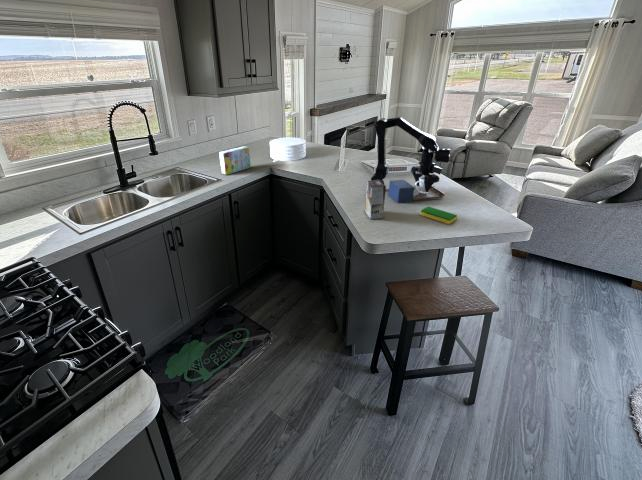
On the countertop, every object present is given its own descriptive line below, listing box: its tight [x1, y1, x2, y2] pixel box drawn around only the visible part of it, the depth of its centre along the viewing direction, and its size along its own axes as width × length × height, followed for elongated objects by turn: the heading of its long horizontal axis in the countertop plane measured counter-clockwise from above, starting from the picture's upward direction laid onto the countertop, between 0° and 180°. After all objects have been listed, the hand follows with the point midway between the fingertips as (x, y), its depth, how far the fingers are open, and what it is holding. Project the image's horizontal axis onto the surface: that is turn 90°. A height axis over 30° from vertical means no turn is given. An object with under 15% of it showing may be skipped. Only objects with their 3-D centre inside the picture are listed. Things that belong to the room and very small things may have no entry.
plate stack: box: [269, 136, 307, 162], centre depth 255 cm, size 28×28×12 cm
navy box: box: [388, 179, 446, 204], centre depth 173 cm, size 25×13×8 cm, turn 97°
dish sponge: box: [419, 205, 458, 225], centre depth 152 cm, size 7×14×2 cm, turn 41°
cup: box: [413, 175, 429, 194], centre depth 173 cm, size 7×10×8 cm
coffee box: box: [364, 179, 387, 220], centre depth 153 cm, size 9×6×16 cm
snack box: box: [218, 145, 252, 176], centre depth 223 cm, size 21×6×15 cm, turn 134°
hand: (422, 189), depth 174 cm, fingers open, 9 cm apart
